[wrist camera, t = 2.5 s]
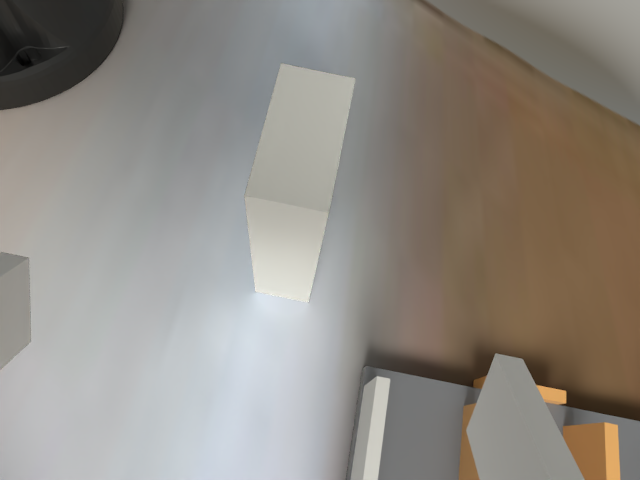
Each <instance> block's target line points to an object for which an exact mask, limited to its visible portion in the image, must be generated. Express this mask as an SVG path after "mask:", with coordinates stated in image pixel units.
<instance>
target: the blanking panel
mask: <svg viewBox="0 0 640 480" xmlns="http://www.w3.org/2000/svg"><path fill="white" fill-rule="evenodd" d="M355 80H356V78H351V77H346V76H341V75H336V74H331V73H327V72H322V71H317V70H312V69H307V68H302V67H297V66H293V65H288V64H283V63H281V65H280V68H279V72H278V76H277V79H276V83H275V86H274V90H273V94H272V97H271V101H270V104H269V108H268V112H267V115H266V119H265V122H264V126H263V130H262V133H261V137H260V140H259V144H258V148H257V151H256V155H255V158H254V162H253V166H252V169H251V173H250V176H249V180H248V184H247V187H246V191H245V194H244V198H245V206H246V215H247V224H248V232H249V241H250V249H251V258H252V266H253V275H254V284H255V292H258V293H263V294H268V295H273V296H278V297H283V298H288V299H293V300H298V301H303V302H307V303H309V298H310V294H311V290H312V285H313V281H314V276H315V272H316V268H317V263H318V259H319V255H320V250H321V246H322V241H323V237H324V233H325V228H326V224H327V220H328V215H329V210H330V205H331V200H332V195H333V190H334V185H335V180H336V175H337V170H338V165H339V160H340V155H341V150H342V145H343V140H344V135H345V130H346V125H347V120H348V115H349V110H350V105H351V100H352V95H353V90H354V85H355Z"/></svg>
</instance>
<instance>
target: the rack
mask: <svg viewBox="0 0 640 480" xmlns="http://www.w3.org/2000/svg"><path fill="white" fill-rule="evenodd" d="M486 377H487V376H484V377H481V378H479V379H476V380H474V382H473V387H468V386H463V385H458V384H454V383H449V382H444V381H439V380H434V379H429V378H424V377H419V376H414V375H409V374H404V373H399V372H394V371H390V370H385V369H380V368H375V367H370V366H365V367H364V368H363V369H362V375H361V382H360V388H359V395H358V402H357V408H356V415H355V422H354V428H353V435H352V442H351V449H350V455H349V462H348V469H347V475H346V480H480V479H479V475H478V472H477V468H476V464H475V461H474V457H473V454H472V450H471V446H470V443H469V439H468V435H467V432H466V429H467V427H468V424H469V421H470V419H471V416H472V414H473V411H474V408H475V406H476V403H477V401H478V398H479V395H480V393H481V390H482V387H483V385H484V382H485V380H486ZM536 386H537V388H538V390H539V392H540V394H541V396H542V397H543V399H544V401H545V403H546V405H547V407H548V409H549V411H550V413H551V415H552V417H553V419H554V421H555V423H556V425H557V427H558V429H559V431H560V432H561V434H562V436H563V438H564V440H565V442H566V444H567V446H568V448H569V450H570V452H571V454H572V456H573V458H574V460H575V462H576V464H577V466H578V467H579V469H580V471H581V473H582V475H583V477H584V479H585V480H640V421H636V420H631V419H626V418H621V417H616V416H611V415H606V414H601V413H596V412H591V411H587V410H582V409H577V408H572V407H567V406H562V405H559V404H565V403H566V391H564V390H559V389H554V388H549V387H544V386H539V385H536Z"/></svg>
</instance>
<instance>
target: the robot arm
mask: <svg viewBox="0 0 640 480" xmlns="http://www.w3.org/2000/svg"><path fill="white" fill-rule="evenodd" d="M122 21H123V4H122V0H0V110H4V109H11V108H17V107H22V106H26V105H30V104H33V103H37V102H40V101H43V100H45V99H48V98H50V97H53V96H55V95H57V94H59V93H61V92H63V91H65V90H67V89H69V88H71V87H72V86H74V85H76V84H77V83H79V82H80V81H82V80H83V79H84V78H86V77H87V76H88V75H89V74H90V73H92V72H93V71H94V70H95V69H96V68H97V67H98V66H99V65H100V64H101V63H102V62H103V60H104V59H105V58H106V57H107V55H108V54H109V53H110V51H111V49H112V48H113V46H114V44H115V42H116V40H117V38H118V36H119V33H120V30H121V26H122ZM30 342H31V312H30V274H29V258H28V257H23V256H18V255H13V254H9V253H4V252H1V253H0V370H1V369H2V368H3V367H4V366H5V365H6V364H7V363H8V362H9V361H10V360H12V359H13V358H14V357H15V356H16V355H17V354H18V353H19V352H20V351H21V350H22V349H24V348H25V347H26V346H27V345H28V344H29V343H30ZM466 432H467V435H468V439H469V443H470V446H471V450H472V454H473V457H474V461H475V464H476V468H477V472H478V475H479V479H480V480H585V479H584V477H583V475H582V473H581V471H580V469H579V467H578V466H577V464H576V462H575V460H574V458H573V456H572V454H571V452H570V450H569V448H568V446H567V444H566V442H565V440H564V438H563V436H562V434H561V432H560V431H559V429H558V427H557V425H556V423H555V421H554V419H553V417H552V415H551V413H550V411H549V409H548V407H547V405H546V403H545V401H544V399H543V397H542V396H541V394H540V392H539V390H538V388H537V386H536V384H535V382H534V380H533V378H532V376H531V374H530V372H529V370H528V368H527V366H526V364H525V363H524V361H523V359H521V358H516V357H511V356H506V355H501V354H496V353H495V356H494V359H493V361H492V364H491V367H490V369H489V372H488V374H487V377H486V380H485V382H484V385H483V387H482V390H481V393H480V395H479V398H478V401H477V403H476V406H475V408H474V411H473V414H472V416H471V419H470V421H469V424H468V427H467V429H466Z"/></svg>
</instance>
